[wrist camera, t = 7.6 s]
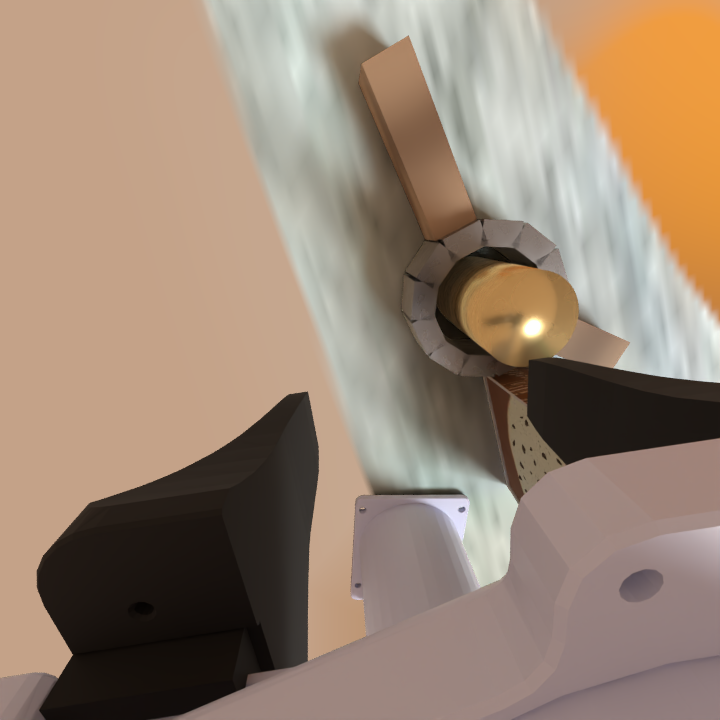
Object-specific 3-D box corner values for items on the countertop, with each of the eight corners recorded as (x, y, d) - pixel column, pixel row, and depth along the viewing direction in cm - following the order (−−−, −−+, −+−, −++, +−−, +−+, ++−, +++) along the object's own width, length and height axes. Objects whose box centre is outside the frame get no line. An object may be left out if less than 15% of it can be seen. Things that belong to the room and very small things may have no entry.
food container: (593, 476, 26) (735, 612, 17) (510, 501, 27) (605, 648, 17) (574, 317, 22) (749, 381, 13) (476, 348, 23) (577, 433, 13)
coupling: (594, 363, 23) (630, 382, 21) (347, 357, 22) (349, 376, 19) (672, 82, 18) (732, 56, 16) (359, 54, 17) (364, 20, 14)
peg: (510, 259, 21) (591, 274, 14) (495, 328, 22) (563, 369, 16) (441, 253, 21) (492, 265, 14) (430, 323, 22) (472, 364, 15)
